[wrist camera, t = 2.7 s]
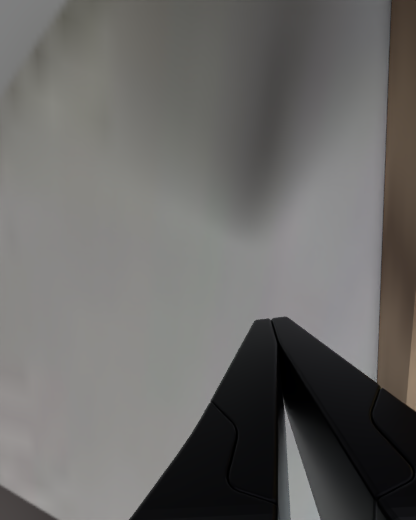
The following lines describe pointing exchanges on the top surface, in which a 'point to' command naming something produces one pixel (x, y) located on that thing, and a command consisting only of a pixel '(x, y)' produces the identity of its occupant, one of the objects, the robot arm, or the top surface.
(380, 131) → the top surface
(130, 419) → the top surface
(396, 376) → the cutting block
